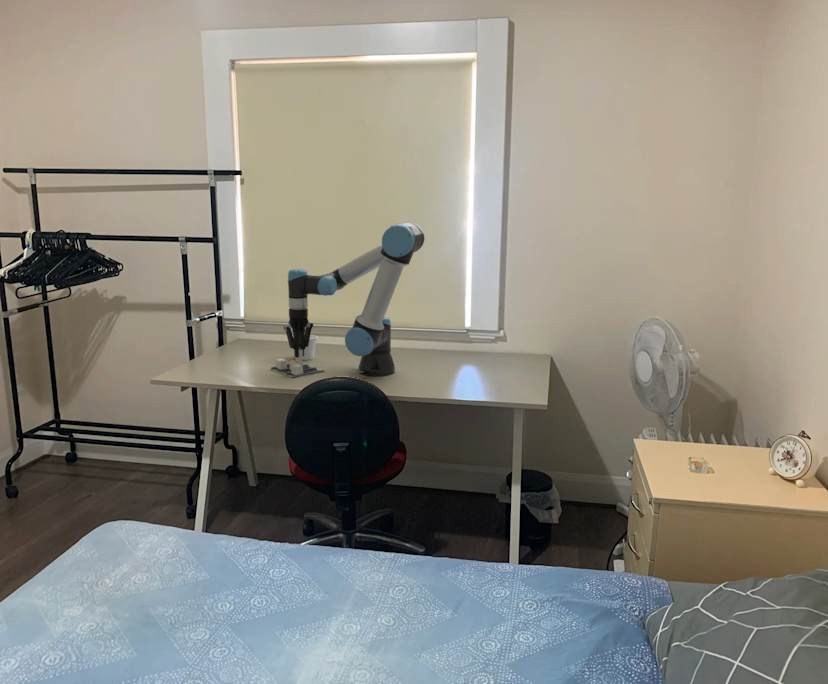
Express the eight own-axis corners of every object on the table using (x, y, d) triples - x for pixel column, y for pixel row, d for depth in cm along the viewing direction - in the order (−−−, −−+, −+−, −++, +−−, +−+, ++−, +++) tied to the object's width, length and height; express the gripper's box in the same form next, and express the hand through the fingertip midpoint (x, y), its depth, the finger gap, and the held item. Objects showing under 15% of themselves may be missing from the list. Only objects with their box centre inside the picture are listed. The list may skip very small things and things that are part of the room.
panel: (326, 374, 282) (326, 369, 282) (292, 381, 272) (292, 376, 271) (302, 366, 295) (302, 361, 295) (269, 372, 285) (268, 367, 284)
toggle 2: (301, 370, 282) (300, 361, 281) (294, 371, 280) (294, 362, 279) (295, 368, 285) (295, 359, 284) (289, 369, 283) (289, 360, 282)
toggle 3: (303, 374, 276) (302, 365, 275) (296, 375, 274) (296, 367, 273) (297, 372, 279) (297, 364, 278) (291, 373, 277) (290, 365, 276)
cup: (320, 359, 308) (319, 334, 305) (314, 364, 298) (314, 339, 296) (298, 358, 309) (297, 334, 306) (292, 363, 299) (291, 338, 297)
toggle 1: (287, 368, 284) (286, 360, 284) (280, 369, 282) (280, 361, 282) (281, 366, 287) (281, 358, 286) (275, 367, 285) (275, 359, 285)
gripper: (306, 304, 285) (308, 360, 291) (279, 308, 277) (280, 365, 282) (317, 307, 280) (317, 363, 285) (289, 310, 272) (290, 369, 277)
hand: (299, 364), depth 284 cm, fingers closed
